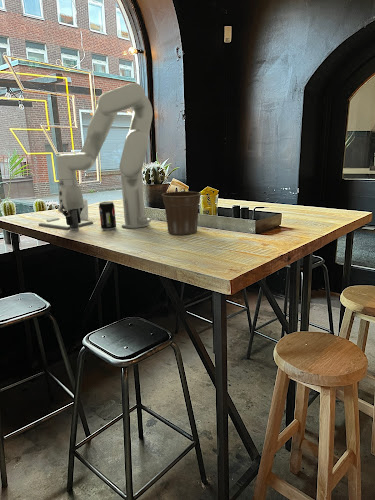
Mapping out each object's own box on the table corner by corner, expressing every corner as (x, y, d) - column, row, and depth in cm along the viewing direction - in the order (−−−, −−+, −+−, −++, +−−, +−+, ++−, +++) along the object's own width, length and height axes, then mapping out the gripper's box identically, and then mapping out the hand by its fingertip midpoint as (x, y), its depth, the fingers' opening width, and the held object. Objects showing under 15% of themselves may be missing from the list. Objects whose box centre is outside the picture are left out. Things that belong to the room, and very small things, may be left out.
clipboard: (92, 223, 180) (92, 219, 180) (67, 229, 169) (66, 225, 168) (64, 220, 193) (64, 216, 192) (38, 225, 181) (38, 221, 180)
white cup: (85, 220, 189) (83, 201, 186) (71, 220, 190) (68, 201, 187) (91, 217, 196) (89, 198, 193) (77, 217, 197) (75, 199, 195)
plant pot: (206, 228, 160) (205, 190, 156) (197, 237, 145) (195, 196, 141) (170, 227, 165) (168, 191, 160) (158, 236, 150) (155, 196, 145)
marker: (81, 229, 169) (78, 202, 165) (73, 231, 165) (70, 203, 162) (75, 228, 171) (72, 202, 168) (67, 230, 168) (64, 203, 164)
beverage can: (113, 230, 163) (110, 203, 159) (98, 230, 164) (96, 203, 161) (118, 227, 169) (116, 201, 166) (105, 227, 170) (102, 201, 167)
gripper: (57, 185, 154) (63, 228, 159) (89, 181, 167) (93, 221, 172) (46, 185, 158) (53, 226, 163) (78, 181, 171) (83, 220, 176)
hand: (73, 223), depth 167 cm, fingers closed on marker, 4 cm apart
